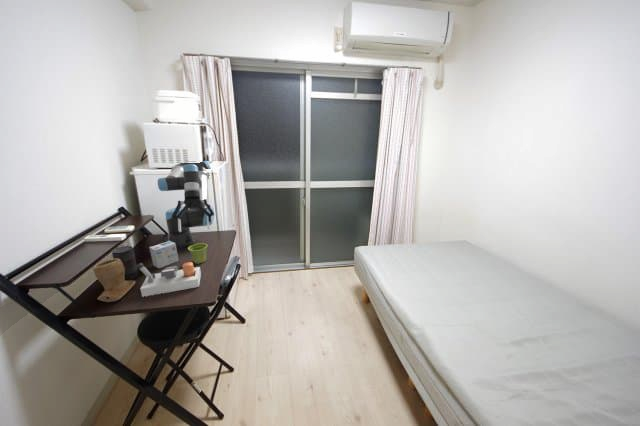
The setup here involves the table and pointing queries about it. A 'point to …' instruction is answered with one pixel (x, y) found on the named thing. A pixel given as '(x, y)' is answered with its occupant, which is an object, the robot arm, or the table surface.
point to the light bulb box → (164, 254)
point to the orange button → (188, 269)
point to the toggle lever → (144, 270)
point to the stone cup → (112, 280)
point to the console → (170, 283)
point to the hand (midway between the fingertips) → (194, 230)
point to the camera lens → (127, 261)
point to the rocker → (169, 271)
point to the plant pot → (198, 252)
